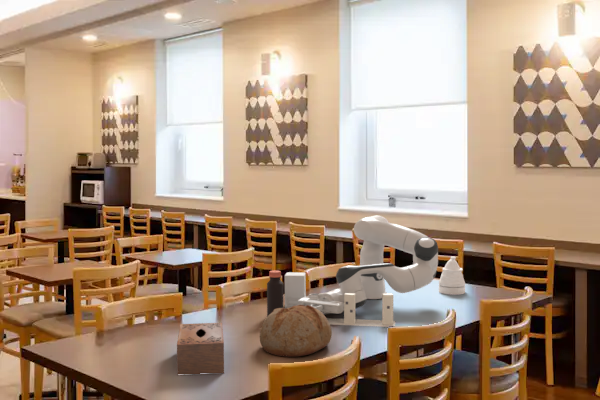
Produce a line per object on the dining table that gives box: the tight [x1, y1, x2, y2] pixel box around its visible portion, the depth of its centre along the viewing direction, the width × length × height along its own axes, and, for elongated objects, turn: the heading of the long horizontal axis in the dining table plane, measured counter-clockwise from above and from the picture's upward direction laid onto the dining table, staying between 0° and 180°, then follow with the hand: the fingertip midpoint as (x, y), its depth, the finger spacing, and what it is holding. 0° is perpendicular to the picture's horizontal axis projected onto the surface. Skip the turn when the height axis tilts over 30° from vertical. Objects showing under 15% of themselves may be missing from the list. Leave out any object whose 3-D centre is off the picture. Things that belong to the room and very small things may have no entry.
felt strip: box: [326, 317, 396, 328], centre depth 272 cm, size 36×10×1 cm, turn 80°
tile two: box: [343, 293, 356, 324], centre depth 270 cm, size 3×4×12 cm
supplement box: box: [284, 271, 307, 309], centre depth 302 cm, size 9×9×15 cm
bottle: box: [266, 269, 284, 318], centre depth 279 cm, size 7×7×20 cm
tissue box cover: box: [176, 322, 225, 374], centre depth 221 cm, size 26×14×10 cm, turn 8°
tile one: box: [381, 292, 394, 325], centre depth 269 cm, size 3×4×12 cm
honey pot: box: [438, 256, 466, 296], centre depth 334 cm, size 13×13×18 cm
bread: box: [259, 305, 333, 358], centre depth 237 cm, size 26×23×15 cm
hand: (311, 309), depth 272 cm, fingers closed
